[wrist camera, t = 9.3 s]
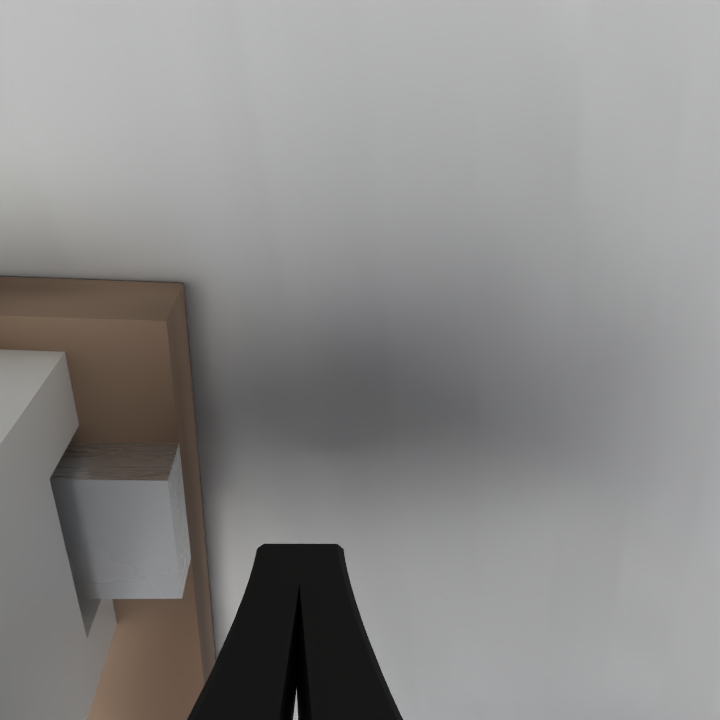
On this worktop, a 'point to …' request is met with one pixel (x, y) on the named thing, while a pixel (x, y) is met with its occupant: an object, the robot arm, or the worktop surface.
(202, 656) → the board
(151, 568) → the rail
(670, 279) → the worktop surface
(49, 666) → the block
